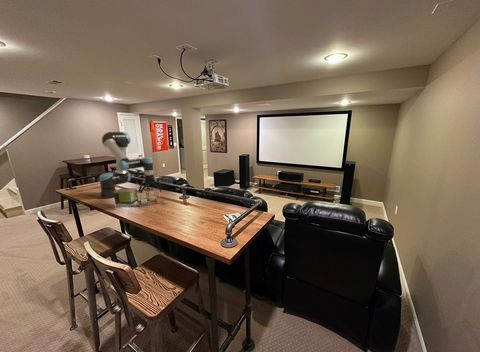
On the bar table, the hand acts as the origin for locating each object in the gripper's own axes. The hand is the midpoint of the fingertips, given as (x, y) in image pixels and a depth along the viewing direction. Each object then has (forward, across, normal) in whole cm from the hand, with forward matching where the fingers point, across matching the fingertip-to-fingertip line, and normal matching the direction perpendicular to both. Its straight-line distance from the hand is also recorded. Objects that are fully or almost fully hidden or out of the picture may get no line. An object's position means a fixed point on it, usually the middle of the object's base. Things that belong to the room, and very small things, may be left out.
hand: (151, 197), depth 177 cm
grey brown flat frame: (+5, -4, -8) cm, 10 cm away
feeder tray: (+5, 0, +2) cm, 5 cm away
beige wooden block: (+4, 0, 0) cm, 4 cm away
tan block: (+3, -8, -8) cm, 11 cm away
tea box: (+5, -20, +3) cm, 21 cm away
